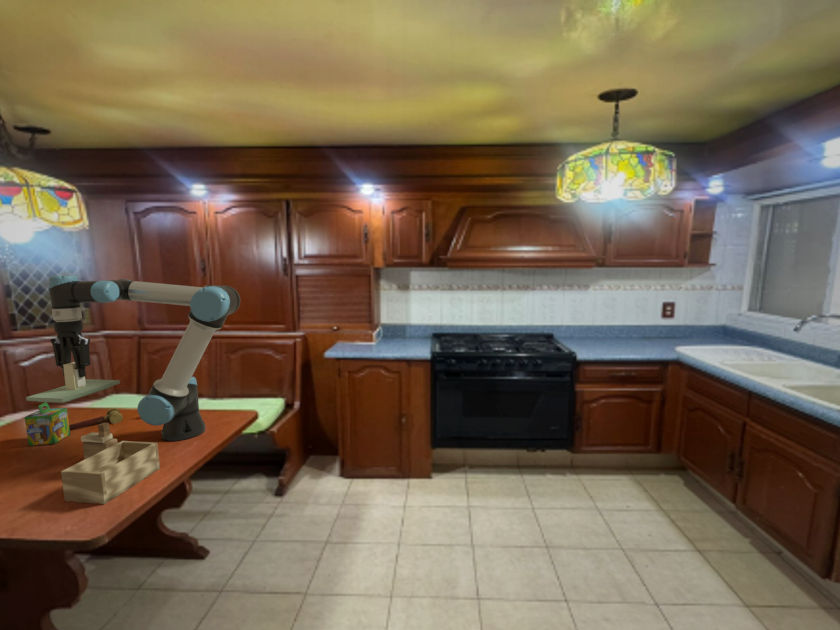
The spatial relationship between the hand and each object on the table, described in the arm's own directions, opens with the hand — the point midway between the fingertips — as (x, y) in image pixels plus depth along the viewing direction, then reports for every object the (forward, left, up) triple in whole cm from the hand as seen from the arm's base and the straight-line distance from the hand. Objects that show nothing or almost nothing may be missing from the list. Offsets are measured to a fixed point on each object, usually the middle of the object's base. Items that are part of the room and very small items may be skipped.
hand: (75, 385), depth 141 cm
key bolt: (+10, +17, -15) cm, 25 cm away
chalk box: (-8, -24, -25) cm, 36 cm away
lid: (0, 0, -3) cm, 3 cm away
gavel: (-23, -22, -26) cm, 41 cm away
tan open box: (+17, +25, -25) cm, 40 cm away
